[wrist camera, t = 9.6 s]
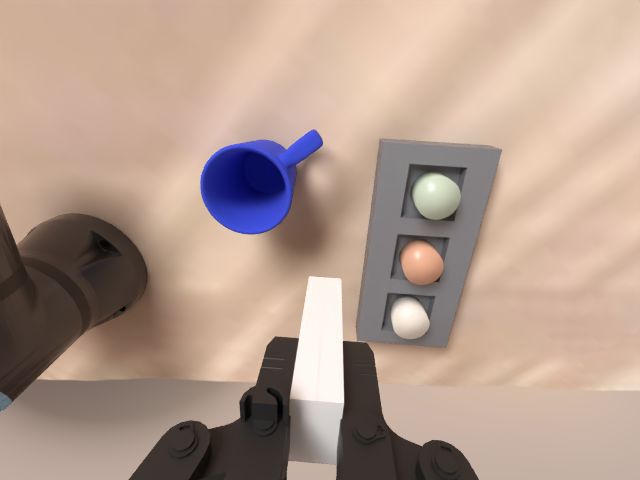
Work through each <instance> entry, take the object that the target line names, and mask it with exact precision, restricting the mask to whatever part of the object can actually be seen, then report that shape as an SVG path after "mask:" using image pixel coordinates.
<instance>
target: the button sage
mask: <svg viewBox="0 0 640 480" xmlns="http://www.w3.org/2000/svg"><path fill="white" fill-rule="evenodd" d="M410 196H411V200H412V202H413V203H414V205H415V206H416V208H417V209H418V210H419V212H420V213H421V214H422V215H423V216H424V217H426V218H428V219H432V220H439V219H443V218H446V217H448V216H450V215H451V214H452V213H453V212H454V211H455V210H456V209H457V207H458V206H459V203H460V199H461V193H460V189H459V187H458V186H457V185H456V183H454V182H453V181H452V180H450V179H449V178H448V177H446V176H445V175H443V174H442V173H439V172H427V173H425V174H422V175H421V176H419V177H418V178H417V179H416V180H415V181H414V183H413V185H412V187H411V191H410Z"/></svg>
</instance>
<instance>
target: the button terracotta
mask: <svg viewBox="0 0 640 480" xmlns="http://www.w3.org/2000/svg"><path fill="white" fill-rule="evenodd" d="M399 261H400V264H401V266H402V269H403V272H404V274H405V276H406V278H407V279H408V280H409V281H410V282H412V283H414V284H418V285H425V284H429V283H432V282H434V281H435V280H437V279H438V278H439V277H440V275H441V274H442V272H443V268H444V263H443V260H442V258H441V257H440V255H439V254H438V252H437V251H436V249H435V247H434V246H433V245H432V244H431V243H430V242H428V241H426V240H422V239H417V240H412V241H410V242H408V243H407V244H405V245H404V246H403V247H402V249H401V251H400V253H399Z"/></svg>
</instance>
